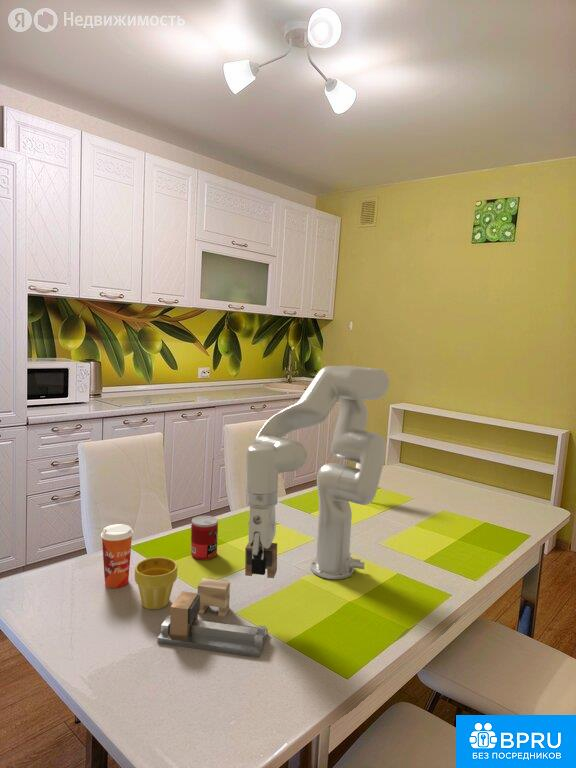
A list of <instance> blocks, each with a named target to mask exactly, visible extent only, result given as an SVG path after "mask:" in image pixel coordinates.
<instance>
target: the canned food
mask: <svg viewBox="0 0 576 768" xmlns="http://www.w3.org/2000/svg"><path fill="white" fill-rule="evenodd" d="M218 521H219V519H217V517H215V516H212V515H198V516H194V517H192V519H191V527H190V528H191V529H190V530H191V531H190V554H191V557H192V558H193V559H196V560H198V561H207V560H212V559H214V558H215V557H216V556H217V554H218V553H217V552H218V538H219V537H218V532H219V530H218V527H219V522H218Z"/></svg>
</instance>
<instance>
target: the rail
mask: <svg viewBox="0 0 576 768" xmlns="http://www.w3.org/2000/svg"><path fill="white" fill-rule="evenodd" d="M199 611H200V595H198V592H190V591H181V592H180V593H179V595H178V596H177V597H176V599H175V600H174V602H173V603H172V604H171V606H170V612H169V613H168V615H167V616H166V617H165V619H164V621H163V622H162V623H161V625H160V626H161V627H160V633H159V634H158V636H157V640H156V641H157V643H158V644H164V645H170V646H171V645H172V646H178V647H183V648H190V649H191V648H192V649H199V650H204V651H205V650H206V651H213V652H219V653H226V654H232V655H240V656H246V657H252V658H260V657H261V653H262V650H263V647H264V645H265V642H266V639H267V636H268V630H269V628H267V626H266V625H261V624H259V626H250V625H243V624H237V623H228V622H220V621H213V620H208V619H200V618H199V613H198V612H199Z"/></svg>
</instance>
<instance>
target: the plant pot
mask: <svg viewBox="0 0 576 768" xmlns="http://www.w3.org/2000/svg"><path fill="white" fill-rule="evenodd" d="M177 578H178V563H177V562H176V561H175V560H174V559H172V558H169V557H164V556H155V557H154V556H153V557H149V558H145V559H142V560H141V561H139V562H137V564H136V565H135V567H134V581H135V584H136V585H137V586H138V591H139V596H140V601H141V605H142V607H143V608H145V609H148V610H159V609H163V608H165V607H166V606H168V605H169V602H170V599H171V594H172V591H173V587H174V584H175V582H176V580H177Z"/></svg>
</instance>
